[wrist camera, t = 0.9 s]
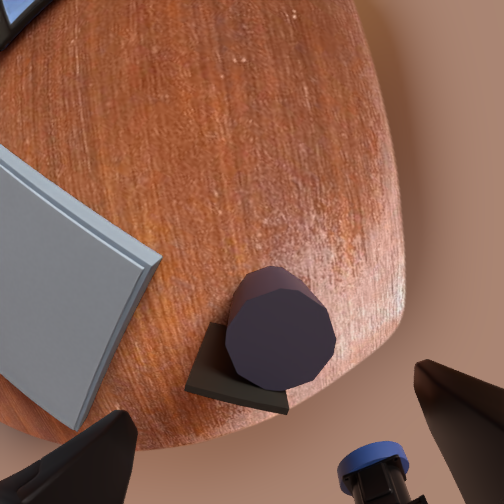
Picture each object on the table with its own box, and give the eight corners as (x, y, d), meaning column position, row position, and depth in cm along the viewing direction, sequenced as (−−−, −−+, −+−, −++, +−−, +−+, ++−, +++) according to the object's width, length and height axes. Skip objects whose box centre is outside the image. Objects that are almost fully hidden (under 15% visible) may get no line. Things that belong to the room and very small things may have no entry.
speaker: (266, 363, 25) (270, 446, 15) (207, 324, 25) (177, 394, 15) (325, 291, 24) (367, 344, 14) (265, 247, 24) (270, 274, 14)
